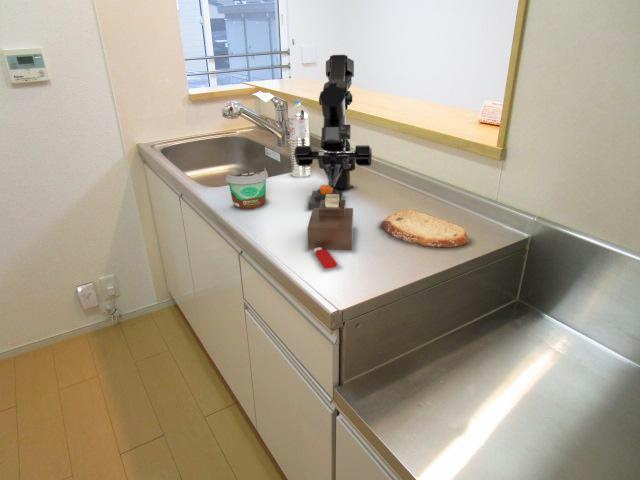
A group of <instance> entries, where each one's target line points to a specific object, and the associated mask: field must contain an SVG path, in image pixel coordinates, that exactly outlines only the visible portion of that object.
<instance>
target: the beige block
mask: <svg viewBox="0 0 640 480" xmlns="http://www.w3.org/2000/svg"><path fill="white" fill-rule="evenodd" d="M325 207H339V194H326V197H325Z"/></svg>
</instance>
